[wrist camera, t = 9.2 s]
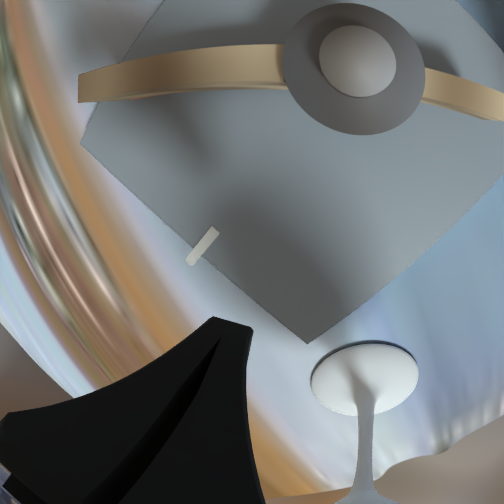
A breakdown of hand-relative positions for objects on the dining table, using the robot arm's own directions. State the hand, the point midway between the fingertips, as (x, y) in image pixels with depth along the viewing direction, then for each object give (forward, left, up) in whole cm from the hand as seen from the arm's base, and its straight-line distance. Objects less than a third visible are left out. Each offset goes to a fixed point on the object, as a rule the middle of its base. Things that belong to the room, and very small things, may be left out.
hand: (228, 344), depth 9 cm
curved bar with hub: (+5, -7, -8) cm, 12 cm away
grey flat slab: (+4, -7, -9) cm, 12 cm away
